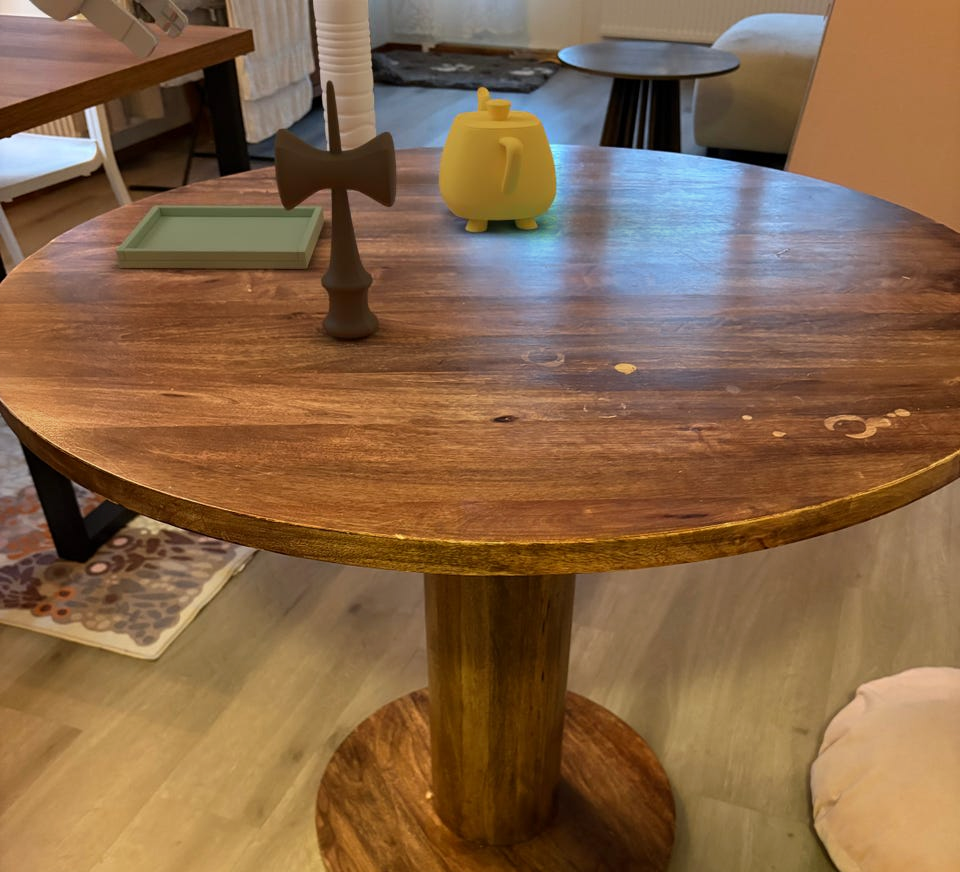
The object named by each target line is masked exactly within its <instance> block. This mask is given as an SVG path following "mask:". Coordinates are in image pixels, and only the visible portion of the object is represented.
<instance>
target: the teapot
mask: <svg viewBox="0 0 960 872" xmlns="http://www.w3.org/2000/svg"><path fill="white" fill-rule="evenodd" d="M476 92H477V93H476V94H477V109H476V111H467V112H466V111H465V112H460V113H458V114H457V115H456V116H455V117H454V118H453V121H452V124H451V126H450V128H449V131H448V134H447V137H446V139H445V143H444V146H443V149H442V153H441V156H440V157H441V158H440V162H439V163H440V164H439V172H438V173H439V174H438V188H439V192H440V195H441V197H442V199H443V201H444V203H445V204H446V206H447V208H448V209H449V210H450V211H451V213H452V214H453V215H454V216H457V217H459V218H462V219H466V220H468V221H467V223H466V226H465V230H466V231H467V232H471V233H483V232H486V231H487V229H488V224H489V223H488V222H489V221H509V220H514V222H515V227H516V228H518V229H519V230H535V229H537V228H538V224H537V222H536V220H535V218H534V217H539V216H542V215H544V214H546V213H547V212H548V211H549V209H550V208H551V207H552V205H553V202H554V201H555V198H556V196H557V183H558V182H557V172H556V165H555V159H554V156H553V152H552V148H551V145H550V142H549V139H548V135H547V133H546V130H545V128H544V125H543V123H542V121H541V119H540V118H538V117H537V115H535V114H534V113H531V112H530V111H526V110H525V111H523V110H511V109H512V101H510V100H508V99H504V98H503V99H501V98H495V99H491V94H490V91H489V90H488V89H487V88H486V87H483V86H480V87H478V89H477V91H476Z"/></svg>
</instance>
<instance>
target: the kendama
mask: <svg viewBox="0 0 960 872" xmlns="http://www.w3.org/2000/svg"><path fill="white" fill-rule="evenodd" d="M326 99H327V118H328V135H329V151H327V150H323V149H319V148H317V147H314V146H313V145H311V144H309V143H308V142H306V141H305V140H303V139H302V138H300V137H299V136H298V135H296V134H294V133H293V132H291V130H289V129H286V128H278V129H277V132H276V133H275V138H274V151H273V153H274V172H275V180H276V185H277V191H278V194H279V199H280V203H281V206H284V208H285V209H286V210H291V209H293V208H295V207H296V206H300V205H301V204H302V203H303V202H304V201H305V200H307V199H308V198H309V197H311V196H313V195H314V194H316V193H318V192H320V191H322V190H330V194H331V195H330V196H331V197H330V198H331V230H330V231H331V232H330V233H331V234H330V253H329V254H330V255H329V262H328V268H327V271H326V272H325V273H324V274H323V275H322V277H321V278H320V283H321V286H322V288H323V289H324V290H325V291H326V292H327V295H328V311H327V314H326V315H325V317H324V319H322V322H321V323H322V328H323V331H324V332H326V333H327V334H328V335H329V336H332V337H335V338H339V339H359V338H363V337H367V336H370V335H372V334H373V333H375V332H376V331H377V330H378V328H379V327H380V321H379V318H378V316H377V315H376V314H375V313H373V312H372V311H371V309H370V308H369V297H368V295H369V294H368V292H369V289H370V288H371V286H372V284H373V282H374V279H373V276H372V274H371V273H369V272H368V271H367V270H366V269H365V267H364V265H363V262H362V260H361V256H360V252H359V248H358V244H357V239H356V234H355V229H354V224H353V219H352V213H351V207H350V201H349V195H348V190H350V191H355V192H358V193H361V194H363V195H365V196H366V197H368V198H370V199H372V200H374V201H375V202H377V203H378V204H380V205H382V206H384V207H387V208H392V207H393V205H394V204H395V202H396V197H397V160H396V158H397V157H396V150H395V142H394V139H393V135H392V134H391V132H389V131H384V132H381V133H379V134H378V135H376V137H374V138H373V139H371V140H370V141H368V142H367V143H365V144H363V145H361V146H360V147H358V148H355V149H351V150H345V151H342V148H341V139H340V131H339V122H338V114H337V105H336V98H335V91H334V86H333V83H332V81H330V80H329V81H327V84H326Z"/></svg>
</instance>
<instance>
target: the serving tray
mask: <svg viewBox="0 0 960 872" xmlns="http://www.w3.org/2000/svg"><path fill="white" fill-rule="evenodd" d="M324 224H325V216H324V207H323V205H298V206H296V207H295V208H293V209H291V210H286V209H285V208H284V206H283V205H179V204H177V205H172V204H171V205H170V204H169V205H164V204H163V205H161V204H160V205H159V204H155V205H153V206H152V207H151V208H150V209H149V211H148V212H147V213H146V214H145V215H144V217H143V218H142V219H141V220H140V222H138V224H137V225H136V226H135V227H134V229H133V230H132V231H131V232H130V233H129V234H128V235H127V237H126V238H125V239H124V240H123V242H121V243H120V245H119V246H118V247H117V248H116V250H115V253H116V254H115V255H116V258H117V263H118V267H119V268H120V269H225V270H226V269H230V270H231V269H234V270H235V269H237V270H238V269H241V270H242V269H243V270H244V269H245V270H246V269H249V270H250V269H251V270H254V269H255V270H256V269H259V270H262V269H263V270H265V269H266V270H270V269H271V270H307V269H308V268H309V264H310V261H311V259H312V256H313V253H314V251H315V248H316V246H317V242H318V240H319V238H320V235H321V232H322V229H323V227H324Z"/></svg>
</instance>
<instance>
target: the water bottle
mask: <svg viewBox="0 0 960 872" xmlns="http://www.w3.org/2000/svg"><path fill="white" fill-rule="evenodd" d="M312 3H313V12H314V19H315V28H316V30H315V33H316V43H317V51H318V60H319V61H318V65H319V68H320V69H319V75H320V76H319V78H320V87H321V90H322V93H321V100H322V107H323V109H324V111H323V119H324V121H325V123H324V132H325V139H326V142H327V143H326V151H329V135H328V118H327V99H326V84H327V81H329V80H330V81H332V83H333V86H334V91H335V98H336V105H337V114H338V122H339V131H340V139H341V148H342V151H345V150H351V149H355V148H358V147H360V146H361V145H363V144H365V143H367V142H368V141H370V140H371V139H373V138H374V137H376V136H377V128H376V112H375V109H374V108H375V94H374V91H373V90H374V75H373V69H372V67H373V63H372V53H371V52H372V51H371V50H372V46H371V37H370V36H371V30H370V21H369V19H370V7H369V0H312Z"/></svg>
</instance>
